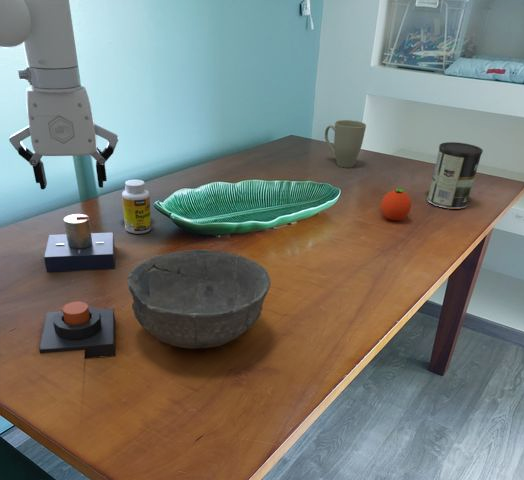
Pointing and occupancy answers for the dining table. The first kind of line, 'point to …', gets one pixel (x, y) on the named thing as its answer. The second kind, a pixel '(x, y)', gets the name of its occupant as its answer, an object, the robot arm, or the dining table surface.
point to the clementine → (396, 204)
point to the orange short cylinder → (76, 313)
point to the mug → (346, 141)
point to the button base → (80, 334)
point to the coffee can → (454, 174)
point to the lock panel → (80, 254)
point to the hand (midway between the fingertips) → (72, 186)
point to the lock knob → (78, 231)
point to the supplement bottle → (136, 207)
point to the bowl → (198, 296)
